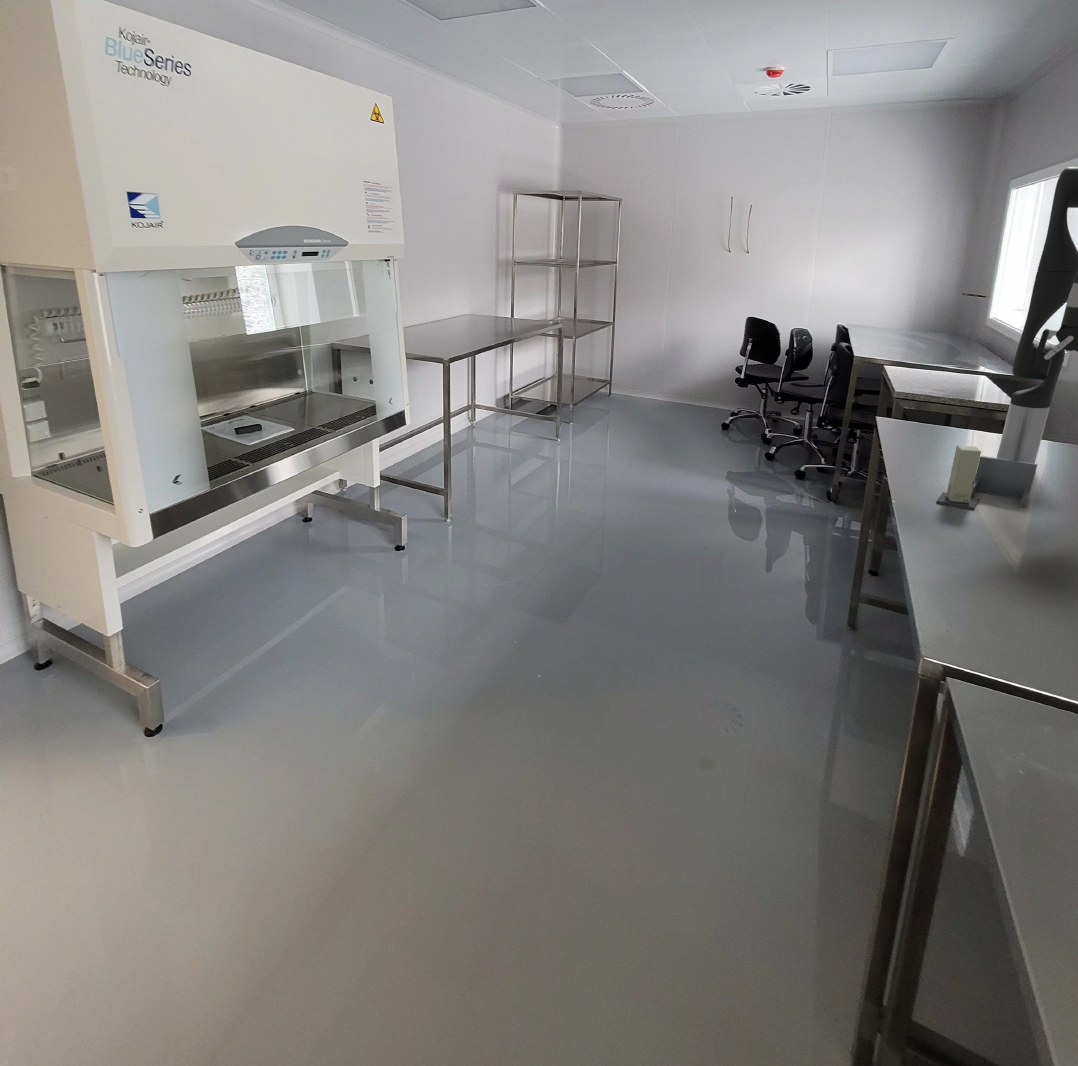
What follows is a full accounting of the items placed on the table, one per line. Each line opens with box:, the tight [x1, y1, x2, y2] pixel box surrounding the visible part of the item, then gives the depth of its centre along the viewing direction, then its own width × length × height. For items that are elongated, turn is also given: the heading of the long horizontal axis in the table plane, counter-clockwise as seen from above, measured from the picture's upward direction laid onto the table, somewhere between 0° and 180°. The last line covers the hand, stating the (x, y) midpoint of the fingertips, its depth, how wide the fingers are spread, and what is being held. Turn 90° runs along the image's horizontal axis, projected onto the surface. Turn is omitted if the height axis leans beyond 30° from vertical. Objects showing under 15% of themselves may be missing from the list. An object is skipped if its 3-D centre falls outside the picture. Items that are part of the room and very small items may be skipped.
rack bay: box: [971, 455, 1038, 509], centre depth 178 cm, size 8×12×9 cm, turn 53°
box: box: [946, 444, 982, 503], centre depth 175 cm, size 5×4×13 cm
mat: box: [935, 491, 980, 511], centre depth 178 cm, size 8×8×1 cm
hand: (1066, 377), depth 171 cm, fingers open, 8 cm apart
